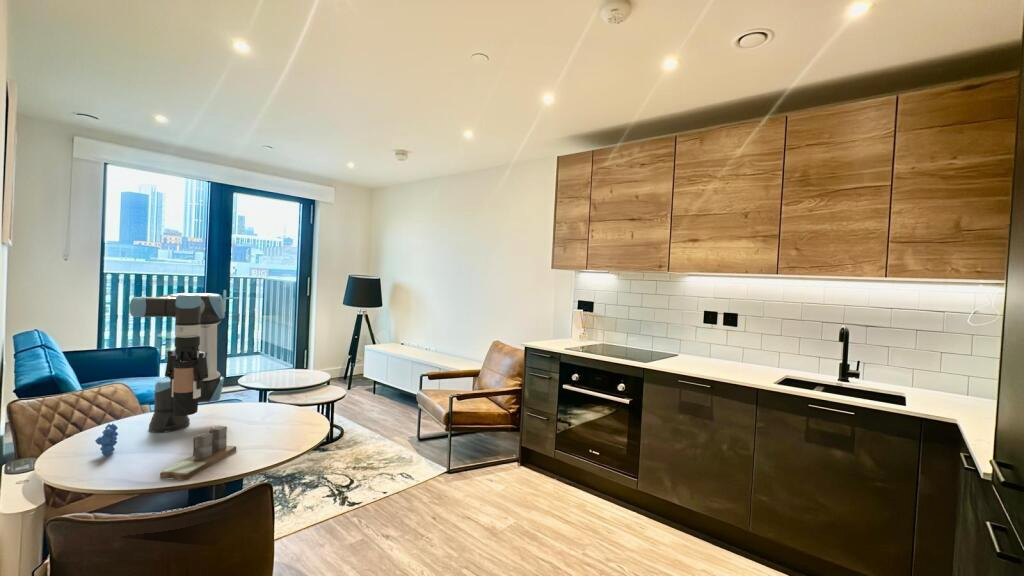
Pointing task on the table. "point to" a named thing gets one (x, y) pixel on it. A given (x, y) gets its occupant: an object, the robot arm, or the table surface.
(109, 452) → the grapes
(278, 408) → the table surface
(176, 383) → the travel mug
